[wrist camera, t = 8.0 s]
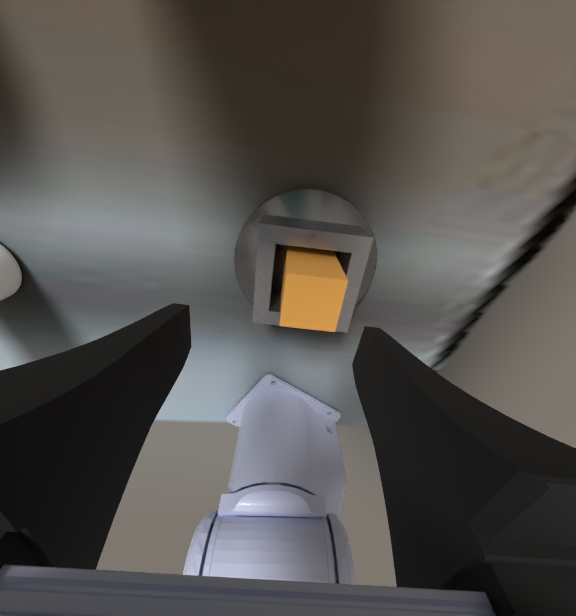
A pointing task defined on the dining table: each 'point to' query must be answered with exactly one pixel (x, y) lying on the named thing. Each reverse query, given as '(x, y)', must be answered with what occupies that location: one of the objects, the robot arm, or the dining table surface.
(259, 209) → the grey square frame
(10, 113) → the dining table surface
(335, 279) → the orange block
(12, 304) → the dining table surface
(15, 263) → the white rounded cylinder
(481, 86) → the dining table surface
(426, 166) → the dining table surface
